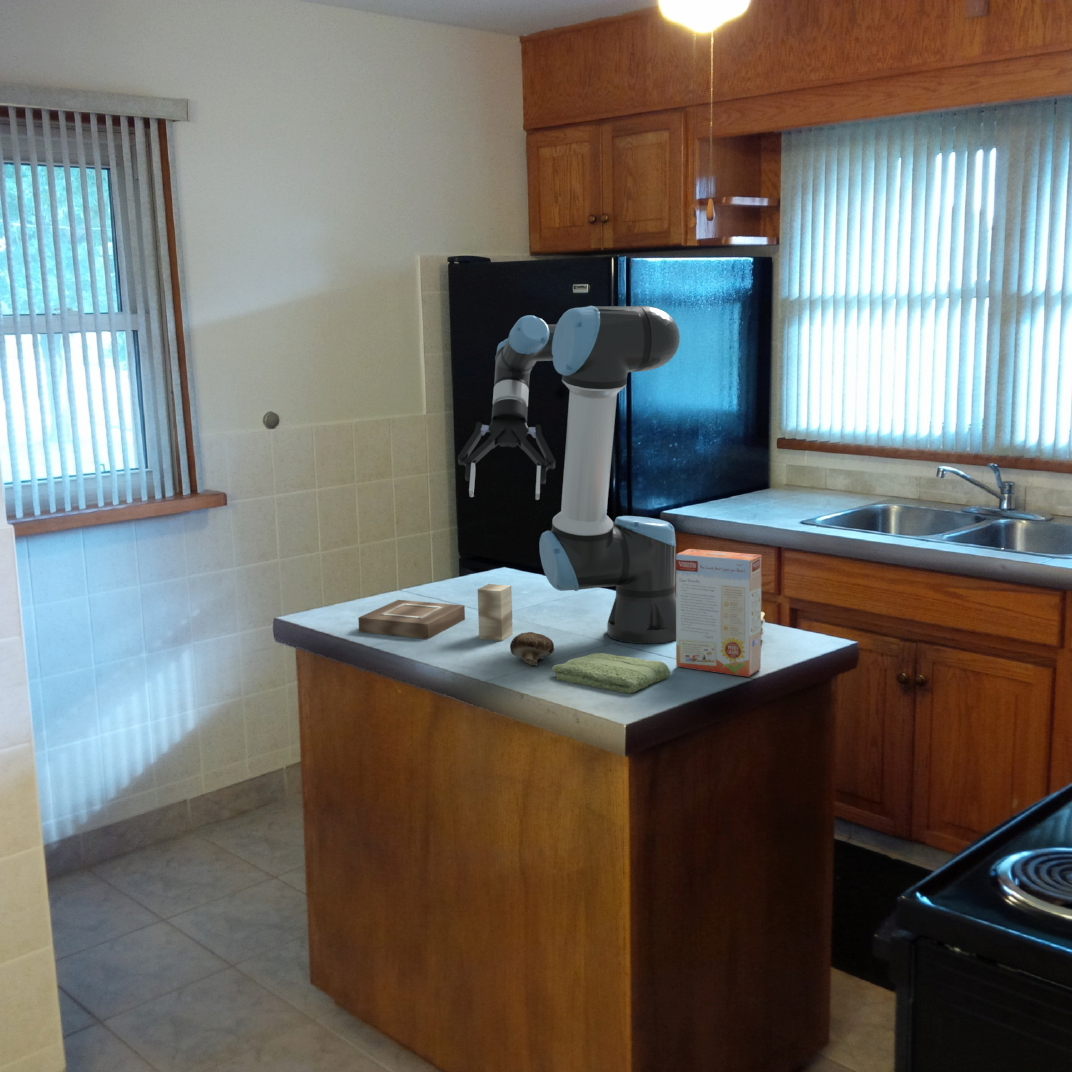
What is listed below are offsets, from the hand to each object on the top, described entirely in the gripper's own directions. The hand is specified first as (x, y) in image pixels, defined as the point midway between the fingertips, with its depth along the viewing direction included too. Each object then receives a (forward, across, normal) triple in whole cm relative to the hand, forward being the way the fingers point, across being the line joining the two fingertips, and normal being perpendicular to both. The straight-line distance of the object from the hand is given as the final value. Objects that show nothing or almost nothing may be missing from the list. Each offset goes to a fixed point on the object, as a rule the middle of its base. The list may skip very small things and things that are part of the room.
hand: (504, 495), depth 237 cm
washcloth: (+44, -22, +18) cm, 52 cm away
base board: (+24, +18, -13) cm, 33 cm away
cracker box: (+40, -41, +15) cm, 59 cm away
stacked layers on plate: (+30, -49, +1) cm, 58 cm away
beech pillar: (+29, 0, -5) cm, 29 cm away
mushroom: (+39, -8, +9) cm, 41 cm away
